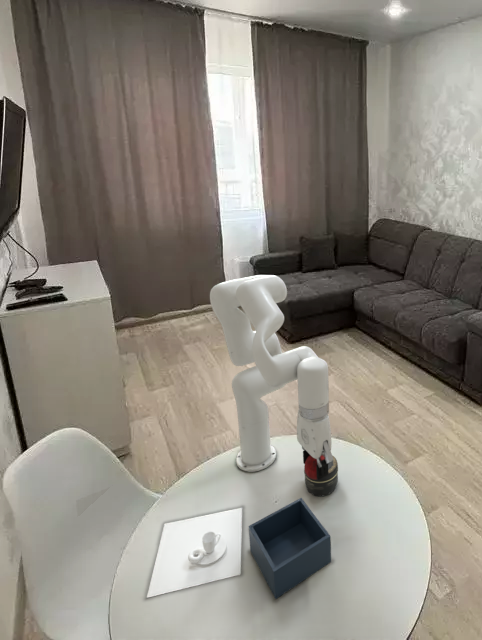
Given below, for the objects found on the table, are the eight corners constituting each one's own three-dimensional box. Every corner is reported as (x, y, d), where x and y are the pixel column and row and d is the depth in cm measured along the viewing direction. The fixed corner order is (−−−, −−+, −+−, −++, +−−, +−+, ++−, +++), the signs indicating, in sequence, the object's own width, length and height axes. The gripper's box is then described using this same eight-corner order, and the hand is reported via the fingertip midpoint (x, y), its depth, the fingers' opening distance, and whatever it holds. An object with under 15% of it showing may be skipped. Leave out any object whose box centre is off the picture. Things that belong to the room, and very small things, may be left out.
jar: (323, 468, 130) (323, 447, 129) (345, 485, 124) (344, 463, 122) (298, 485, 123) (297, 463, 122) (319, 504, 117) (318, 481, 115)
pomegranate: (323, 488, 104) (322, 461, 102) (301, 485, 105) (300, 458, 103) (329, 471, 110) (329, 445, 108) (309, 468, 111) (308, 442, 109)
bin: (250, 551, 103) (248, 526, 101) (302, 521, 111) (301, 497, 110) (275, 599, 91) (273, 571, 90) (331, 561, 100) (330, 535, 98)
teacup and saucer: (187, 570, 98) (185, 556, 97) (191, 541, 105) (190, 528, 104) (226, 561, 100) (224, 547, 99) (227, 533, 107) (226, 520, 107)
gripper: (284, 397, 107) (287, 457, 111) (319, 430, 94) (321, 497, 98) (309, 387, 111) (311, 445, 115) (346, 418, 98) (346, 482, 102)
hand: (315, 468), depth 107 cm, fingers closed on pomegranate, 5 cm apart
